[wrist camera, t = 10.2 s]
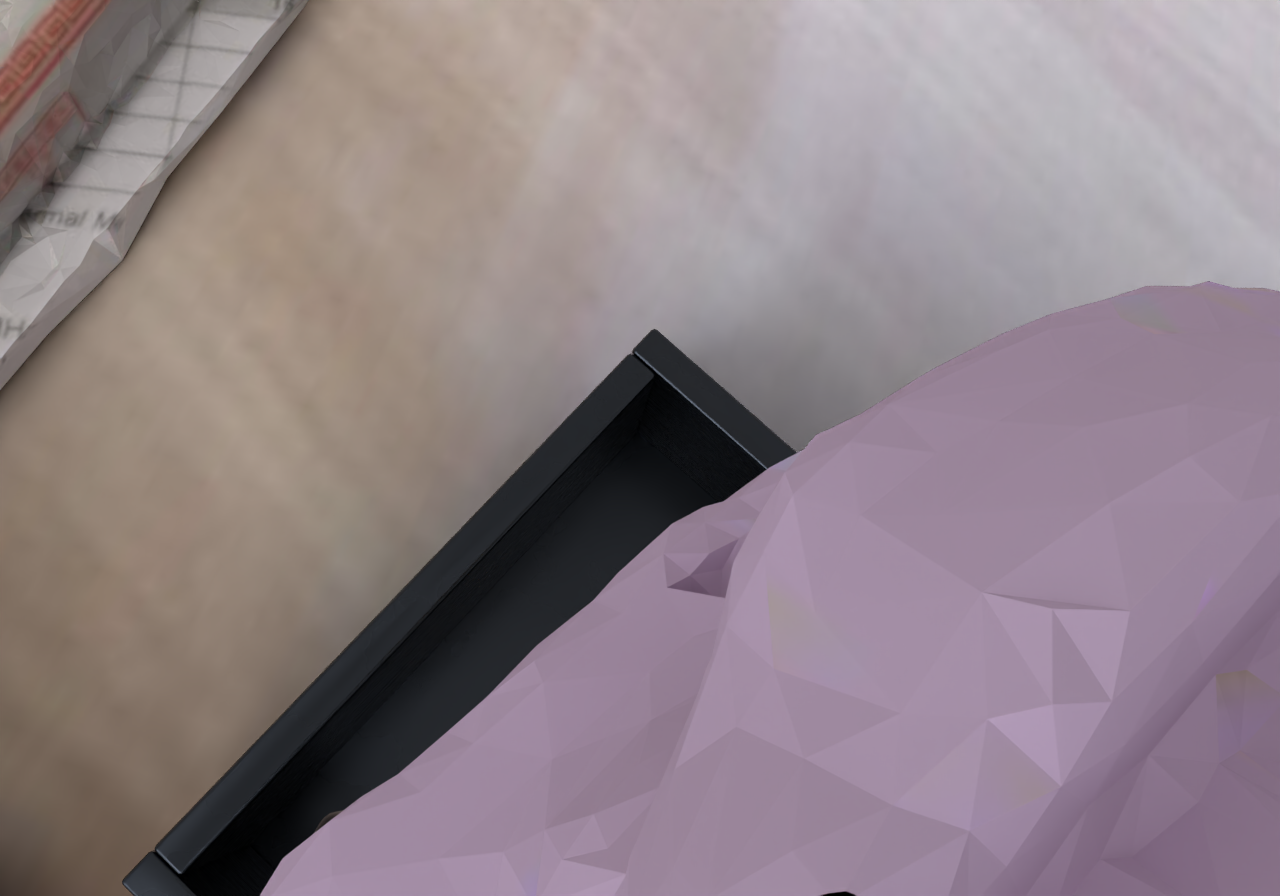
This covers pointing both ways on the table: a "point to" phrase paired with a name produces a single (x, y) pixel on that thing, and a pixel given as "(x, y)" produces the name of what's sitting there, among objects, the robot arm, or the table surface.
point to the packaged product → (103, 133)
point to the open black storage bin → (473, 613)
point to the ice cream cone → (909, 655)
